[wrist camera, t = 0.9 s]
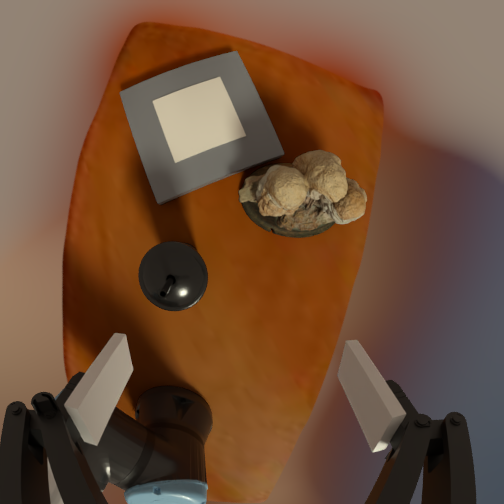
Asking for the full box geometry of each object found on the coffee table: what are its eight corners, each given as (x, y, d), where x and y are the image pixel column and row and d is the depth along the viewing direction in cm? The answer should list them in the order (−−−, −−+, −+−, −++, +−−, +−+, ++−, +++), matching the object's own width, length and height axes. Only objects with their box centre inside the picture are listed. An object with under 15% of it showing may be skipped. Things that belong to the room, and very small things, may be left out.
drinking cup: (217, 251, 42) (225, 281, 23) (191, 291, 42) (179, 349, 23) (176, 224, 41) (148, 230, 21) (150, 265, 41) (107, 304, 21)
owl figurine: (232, 234, 42) (246, 244, 26) (236, 159, 41) (252, 123, 24) (338, 239, 45) (400, 251, 28) (340, 171, 44) (402, 152, 27)
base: (161, 204, 40) (157, 203, 37) (124, 99, 36) (119, 91, 33) (279, 157, 42) (285, 153, 39) (234, 59, 38) (236, 49, 35)
